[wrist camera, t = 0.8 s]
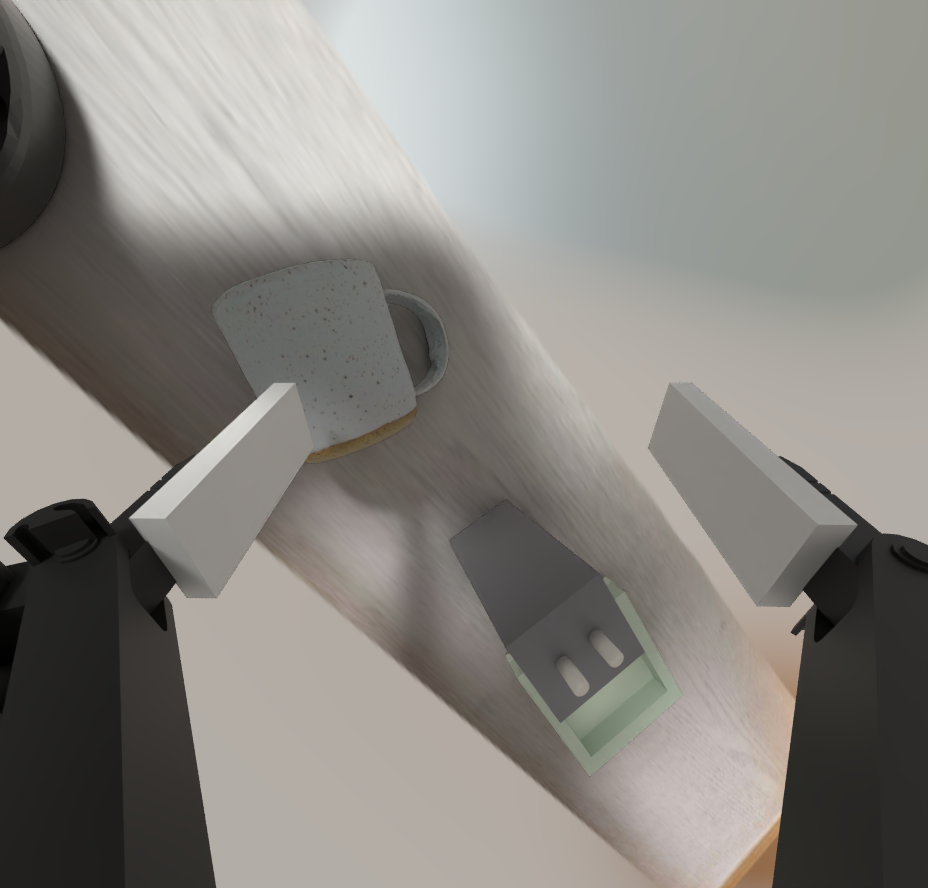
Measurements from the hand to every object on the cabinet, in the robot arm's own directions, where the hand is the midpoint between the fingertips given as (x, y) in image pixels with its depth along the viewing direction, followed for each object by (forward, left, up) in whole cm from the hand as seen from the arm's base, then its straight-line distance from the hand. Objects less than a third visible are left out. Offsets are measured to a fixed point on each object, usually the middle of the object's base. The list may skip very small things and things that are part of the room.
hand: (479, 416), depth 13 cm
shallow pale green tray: (+25, -1, -11) cm, 27 cm away
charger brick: (+11, -2, -11) cm, 16 cm away
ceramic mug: (-5, -2, -11) cm, 12 cm away
